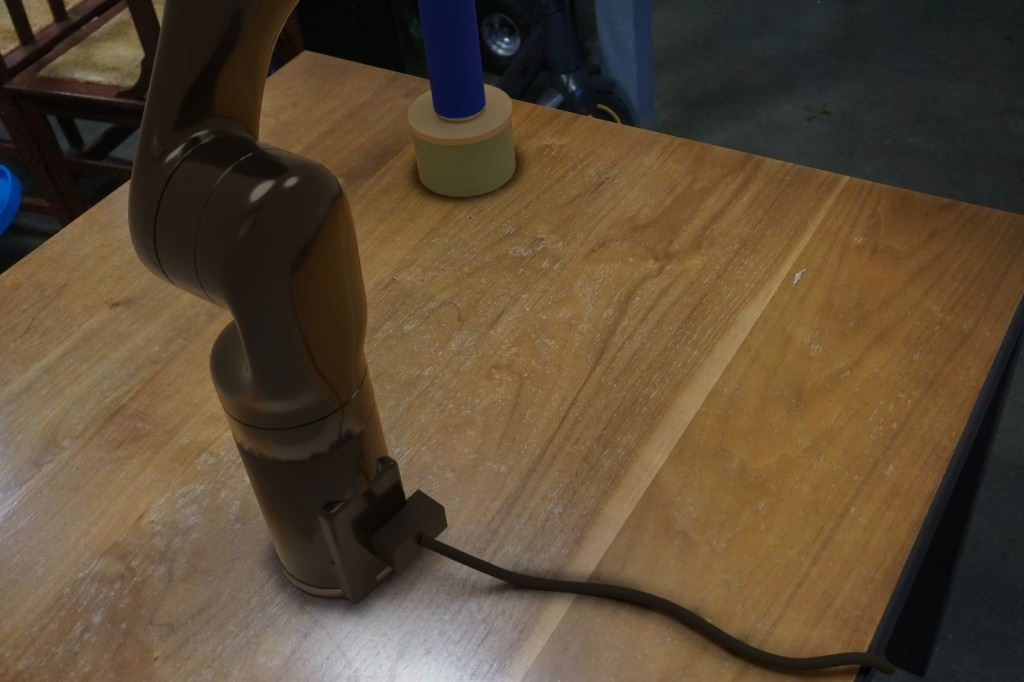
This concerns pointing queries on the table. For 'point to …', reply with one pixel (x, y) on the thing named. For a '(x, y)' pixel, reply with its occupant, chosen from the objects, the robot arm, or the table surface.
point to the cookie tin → (464, 146)
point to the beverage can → (453, 58)
